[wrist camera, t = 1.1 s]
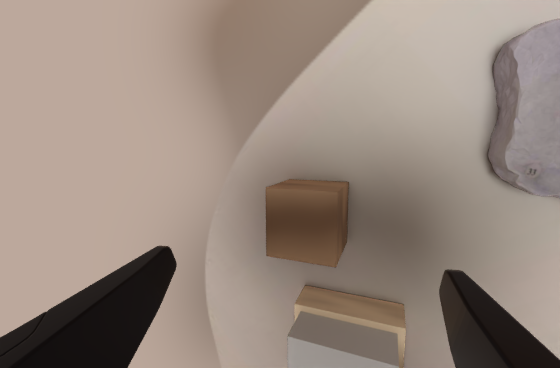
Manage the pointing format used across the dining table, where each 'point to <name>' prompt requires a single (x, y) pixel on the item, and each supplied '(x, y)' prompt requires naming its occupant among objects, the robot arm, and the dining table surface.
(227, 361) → the dining table surface
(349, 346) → the grey block
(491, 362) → the robot arm
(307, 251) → the walnut cube
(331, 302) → the beech base block
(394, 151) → the dining table surface
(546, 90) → the stone block
